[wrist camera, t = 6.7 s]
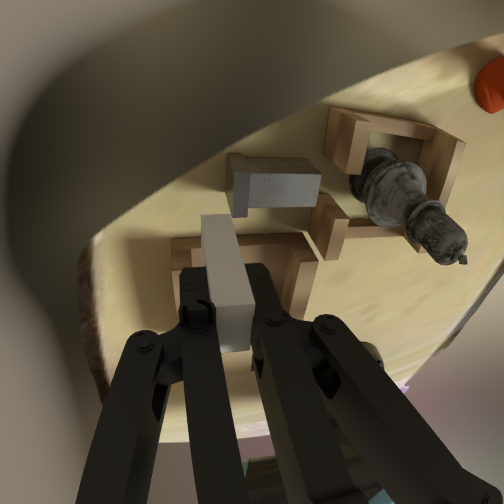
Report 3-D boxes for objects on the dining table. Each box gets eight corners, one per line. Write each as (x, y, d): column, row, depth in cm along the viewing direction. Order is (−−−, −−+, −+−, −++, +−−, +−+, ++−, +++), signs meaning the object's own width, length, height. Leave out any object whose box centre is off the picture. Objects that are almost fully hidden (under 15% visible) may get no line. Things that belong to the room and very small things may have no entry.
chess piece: (346, 148, 23) (445, 234, 14) (405, 142, 23) (507, 215, 14) (345, 211, 27) (420, 310, 17) (399, 200, 27) (481, 285, 18)
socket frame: (405, 229, 29) (426, 252, 26) (307, 232, 27) (324, 260, 24) (436, 127, 23) (466, 143, 20) (330, 106, 21) (356, 120, 17)
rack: (283, 324, 34) (293, 352, 31) (182, 333, 32) (184, 364, 29) (302, 232, 27) (318, 261, 24) (171, 238, 25) (171, 270, 22)
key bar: (301, 192, 24) (317, 215, 22) (225, 193, 23) (232, 217, 20) (307, 154, 23) (326, 173, 20) (227, 153, 21) (234, 172, 19)
